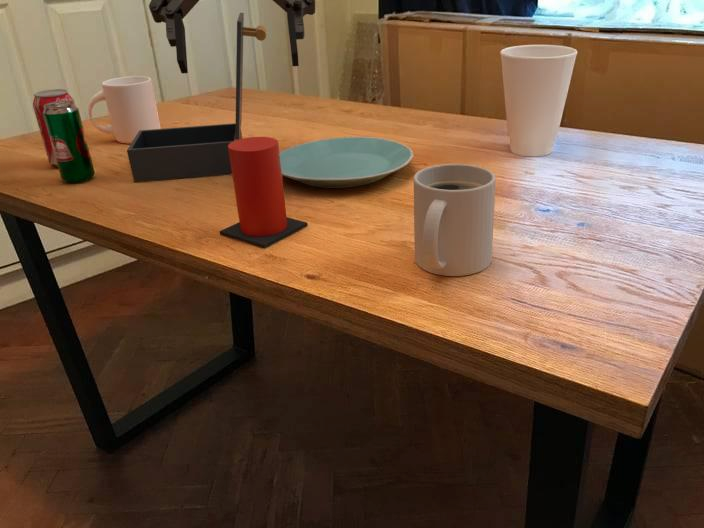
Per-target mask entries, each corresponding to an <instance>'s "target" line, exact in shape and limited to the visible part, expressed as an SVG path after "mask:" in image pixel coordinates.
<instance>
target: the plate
mask: <svg viewBox="0 0 704 528" xmlns="http://www.w3.org/2000/svg"><path fill="white" fill-rule="evenodd" d="M279 154H280V163H281V172H282V177H285V178H288V179H292V180H294V181H298V182H300V183H302V184H305V185H307V186H313V187H318V188H325V189H326V188H327V189H342V188H343V189H345V188H355V187H361V186H365V185H370V184H373V183H375V182H377V181H378V182H379V181H381V180H382V179H384V178H385V177H387V176H389V175H391V174H393V173H395V172H397V171H399V170H401V169H403V168H404V167H406V166H408V164H409V163H410V162H411V161H412V160H413V158H414V152H413V150H412V149H411V148H410V147H409V146H408V145H406V144H404V143H401V142H398V141H396V140H391V139H388V138H381V137H373V136H341V137H340V136H339V137H332V138H324V139H318V140H312V141H308V142H304V143H300V144H296V145H293V146H291V147H288V148H286V149H283V150H282V151H279Z"/></svg>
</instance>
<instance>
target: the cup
mask: <svg viewBox="0 0 704 528" xmlns="http://www.w3.org/2000/svg"><path fill="white" fill-rule="evenodd" d="M499 54H500V61H501V71H502V83H503V94H504V106H505V107H504V108H505V119H506V131H507V136H508V137H509V146H510V152H511V153H512V154H515V155H517V156H522V157H529V158H530V157H531V158H533V157H543V156H547V155H550V154H552V153H553V150H554V144H555V141H556V138H557V137H558V136H559V131H560V127H561V122H562V119H563V114H564V110H565V105H566V101H567V97H568V92H569V88H570V84H571V80H572V76H573V72H574V71H573V70H574V67H575V63H576V59H577V55H578V50H577V49H576V48H573V47H571V46H566V45H558V44H524V45H522V44H521V45H515V46H509V47H505V48H503V49H501V50H500V52H499Z"/></svg>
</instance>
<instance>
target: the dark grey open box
mask: <svg viewBox="0 0 704 528" xmlns="http://www.w3.org/2000/svg"><path fill="white" fill-rule="evenodd" d="M235 125H236V122H235V123H220V124H219V123H218V124H206V125H193V126H181V127H167V128H161V129H152V130H140V131H139V132H138V134H137V135H136V137H135V138H134V140H133V141H132V143H131V144H129V146H128V148H126V153H127V158H128V161H129V167H130V170H131V174H132V179H133V183H142V182H155V181H156V182H157V181H166V180H167V181H168V180H169V181H170V180H178V179H179V180H180V179H191V178H203V177H214V176H215V177H216V176H228V175H232V170H231V163H230V157H229V150H228V145H229V144H230V143H231V142H233V141H236V140H239V139H243V133H242V128H241V129H240V137H239V139H235Z"/></svg>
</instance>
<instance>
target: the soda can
mask: <svg viewBox="0 0 704 528" xmlns="http://www.w3.org/2000/svg"><path fill="white" fill-rule="evenodd" d="M74 103H75V101H74V102H73V101H56V102H51V103H47V104H45V105H44V111H43V116H44V119H45V123H46V126H47V130H48V133H49V137H50V140H51V144H52V147H53V151H54V154H55V158H56V161H57V165H58V166H57V168H58V172H59V176H60V179H61V180H63V181H64V182H65V183H67V184H80V183H81V184H82V183H85V182H88V181H90V180H92V179H93V178H94V177H95V174H96V172H95V167H94V163H93V159H92V156H91V152H90V149H89V148H90V147H89V144H88V140H87V136H86V132H85V129H84V125H83V121H82V118H81V114H80V113H81V112H80V109H79V108H78V107H77V105H76V104H75V105H74Z"/></svg>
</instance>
